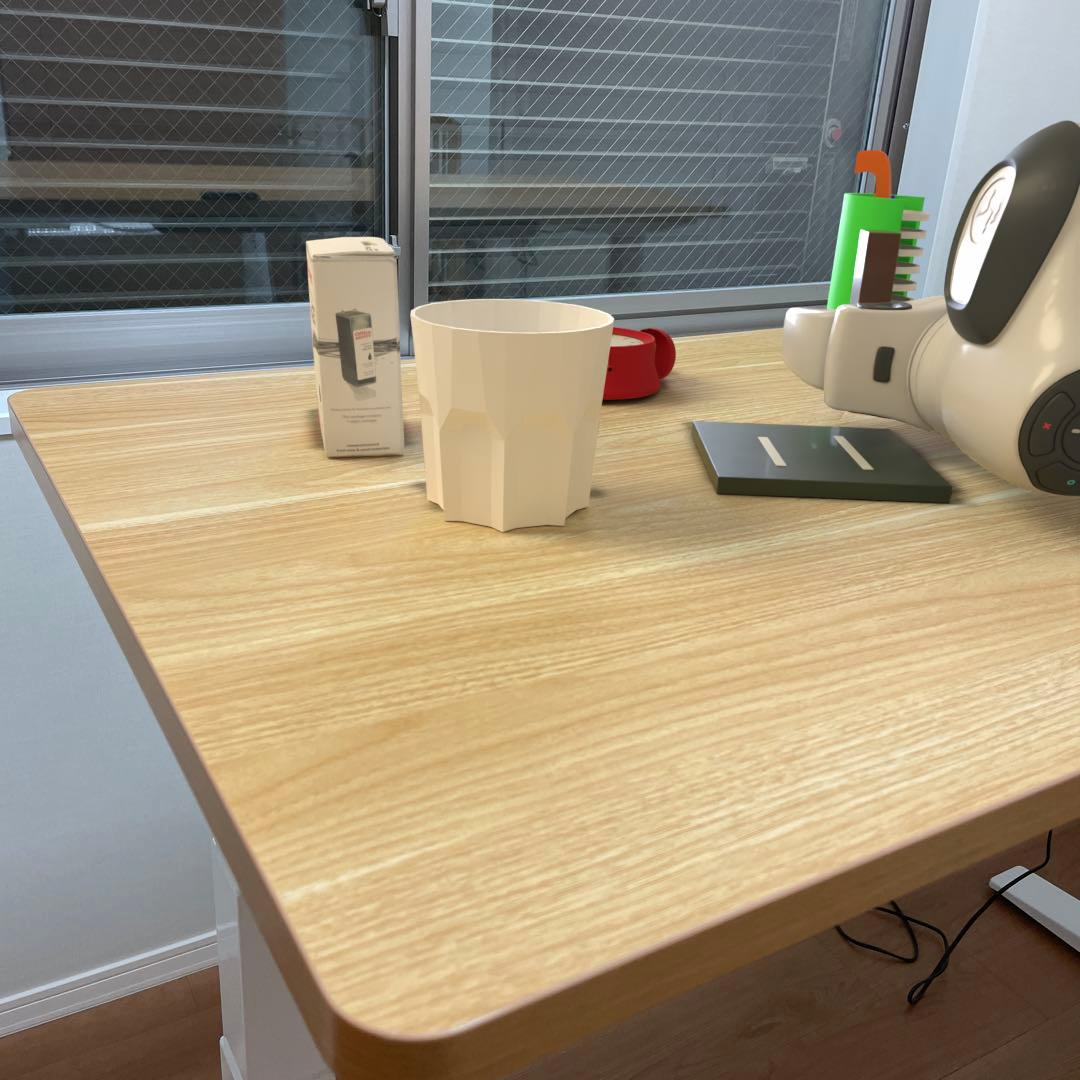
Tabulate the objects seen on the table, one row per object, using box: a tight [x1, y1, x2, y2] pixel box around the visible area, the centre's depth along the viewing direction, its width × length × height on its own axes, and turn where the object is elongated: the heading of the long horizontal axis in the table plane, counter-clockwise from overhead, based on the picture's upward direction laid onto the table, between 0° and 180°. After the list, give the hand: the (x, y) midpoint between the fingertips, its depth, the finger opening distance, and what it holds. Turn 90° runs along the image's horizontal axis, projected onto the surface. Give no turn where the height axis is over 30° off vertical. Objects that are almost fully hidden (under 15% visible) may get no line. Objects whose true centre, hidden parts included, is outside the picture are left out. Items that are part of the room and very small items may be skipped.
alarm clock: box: [602, 326, 677, 401], centre depth 81 cm, size 10×6×15 cm
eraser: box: [850, 229, 901, 304], centre depth 85 cm, size 8×4×12 cm, turn 179°
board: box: [690, 420, 954, 504], centre depth 63 cm, size 13×12×1 cm
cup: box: [410, 298, 615, 533], centre depth 53 cm, size 10×10×10 cm
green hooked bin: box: [826, 149, 931, 309], centre depth 96 cm, size 9×8×18 cm
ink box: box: [305, 236, 405, 458], centre depth 63 cm, size 9×5×12 cm, turn 14°
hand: (902, 326), depth 76 cm, fingers open, 8 cm apart
